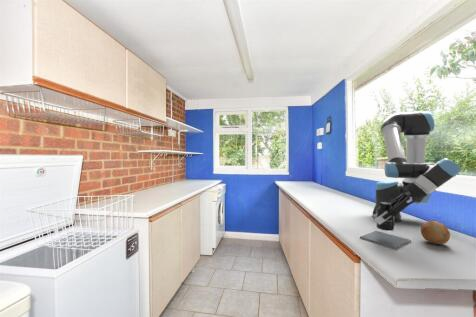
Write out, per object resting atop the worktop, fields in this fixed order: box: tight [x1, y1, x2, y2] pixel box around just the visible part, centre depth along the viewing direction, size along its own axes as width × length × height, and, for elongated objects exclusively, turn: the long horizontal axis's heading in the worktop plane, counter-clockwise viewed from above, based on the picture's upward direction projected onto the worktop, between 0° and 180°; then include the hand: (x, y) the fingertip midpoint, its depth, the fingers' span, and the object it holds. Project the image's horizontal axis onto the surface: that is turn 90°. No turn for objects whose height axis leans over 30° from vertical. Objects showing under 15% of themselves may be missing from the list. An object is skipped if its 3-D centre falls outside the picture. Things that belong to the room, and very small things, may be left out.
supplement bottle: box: [375, 202, 395, 232], centre depth 101 cm, size 7×7×12 cm
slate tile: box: [359, 230, 412, 250], centre depth 102 cm, size 15×15×1 cm
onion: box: [420, 220, 451, 245], centre depth 97 cm, size 10×10×10 cm
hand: (376, 220), depth 103 cm, fingers closed on supplement bottle, 7 cm apart
